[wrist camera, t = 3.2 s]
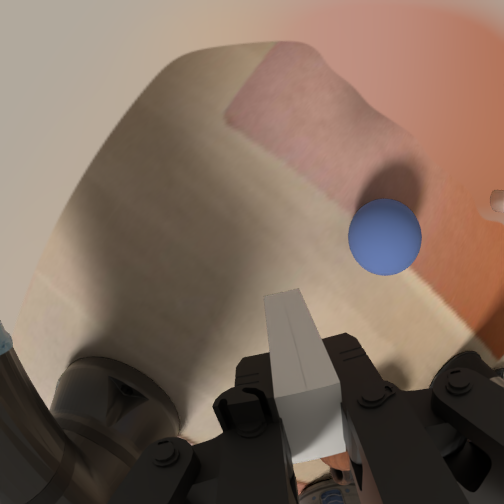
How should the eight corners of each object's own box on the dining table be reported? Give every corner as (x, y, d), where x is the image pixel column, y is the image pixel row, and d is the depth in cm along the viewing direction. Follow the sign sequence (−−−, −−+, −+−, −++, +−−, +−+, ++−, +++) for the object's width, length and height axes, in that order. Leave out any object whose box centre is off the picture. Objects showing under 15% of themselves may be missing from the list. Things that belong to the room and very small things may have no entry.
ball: (344, 271, 25) (370, 295, 20) (332, 204, 24) (357, 209, 18) (403, 256, 25) (438, 273, 19) (394, 191, 24) (430, 194, 18)
